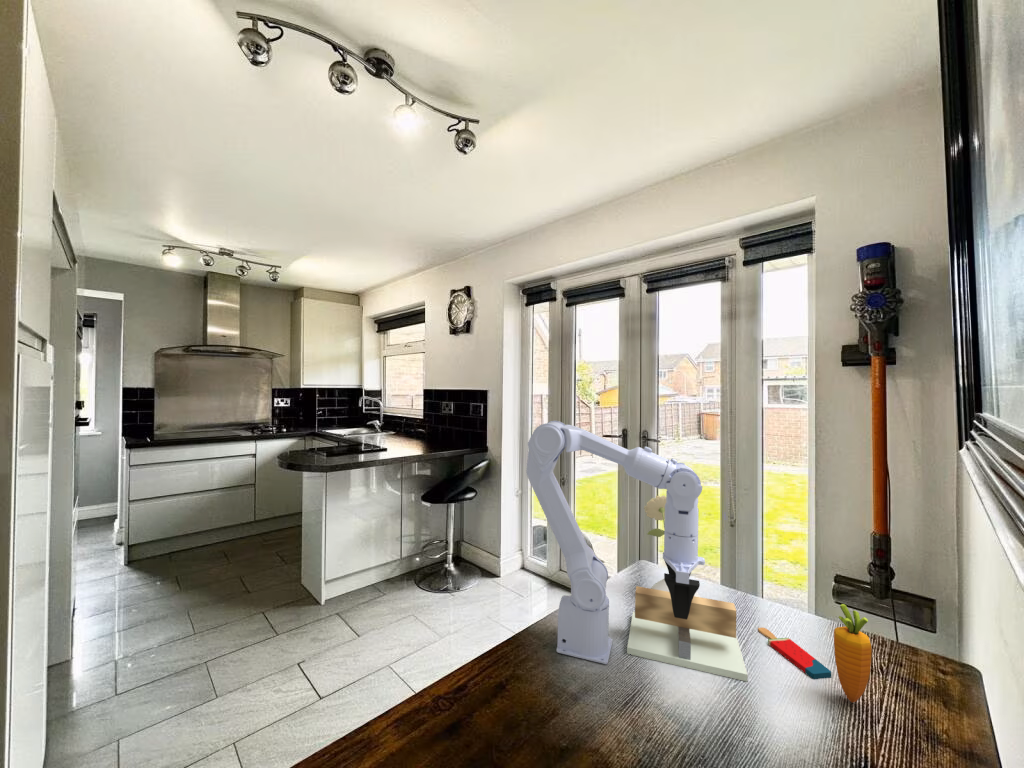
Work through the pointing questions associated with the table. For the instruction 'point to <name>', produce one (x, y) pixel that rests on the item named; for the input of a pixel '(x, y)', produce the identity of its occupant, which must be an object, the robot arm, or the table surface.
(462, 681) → the table surface
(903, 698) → the table surface
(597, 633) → the robot arm
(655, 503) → the flower in vase
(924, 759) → the table surface
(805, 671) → the popsicle
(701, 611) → the wooden block
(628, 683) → the table surface
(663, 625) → the balance stand
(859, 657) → the carrot
